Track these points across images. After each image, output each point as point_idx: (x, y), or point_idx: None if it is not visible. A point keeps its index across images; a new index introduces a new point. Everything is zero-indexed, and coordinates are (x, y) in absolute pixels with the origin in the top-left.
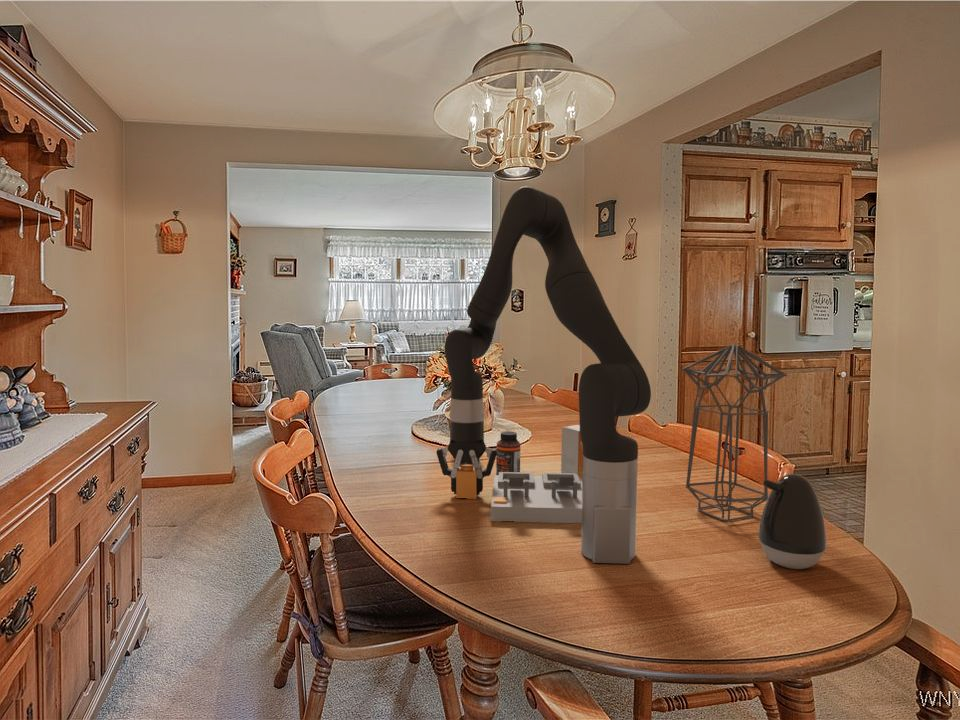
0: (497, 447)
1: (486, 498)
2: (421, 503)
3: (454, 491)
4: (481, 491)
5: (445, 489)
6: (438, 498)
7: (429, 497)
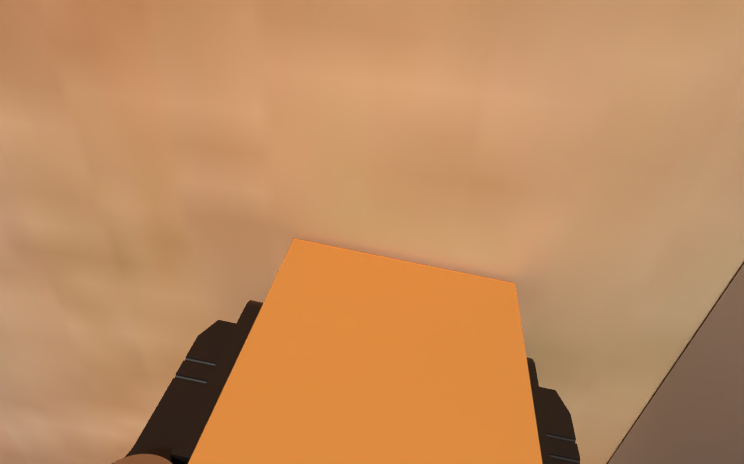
0: None
1: (567, 407)
2: (29, 408)
3: None
4: None
5: (123, 60)
6: (124, 337)
7: (36, 302)
